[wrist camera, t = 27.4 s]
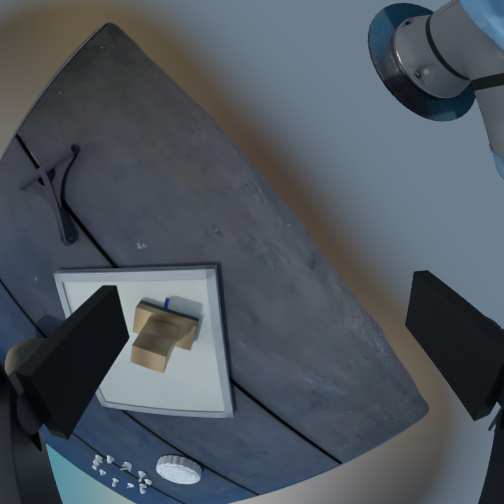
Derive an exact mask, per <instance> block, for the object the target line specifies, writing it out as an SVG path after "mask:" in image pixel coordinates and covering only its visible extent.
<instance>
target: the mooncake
mask: <svg viewBox="0 0 504 504" xmlns="http://www.w3.org/2000/svg"><path fill="white" fill-rule="evenodd" d="M156 468H157V469H156V471H157V472H158V474H160V475H161V476H162V477H164V478H166V479H167V480H170V481H172V482H176V483H178V484H193V483H197V482H198V481H200V478H201V472H202V469H201V467H200V466H199V465H197V463H196V462H193V461H192V460H190V459H187V458H185V457H180V456H173V455H169V456H163V457H160V459H159V460H158V462H157V466H156Z"/></svg>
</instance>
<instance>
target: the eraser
mask: <svg viewBox="0 0 504 504" xmlns="http://www.w3.org/2000/svg"><path fill="white" fill-rule="evenodd" d="M198 322H199V318H195V317H192V316H189V315H186V314H182V313H179V312H176V311H173V310H170V309H166V308H163V307H160V306H157V305H154V304H151V303H148V302H145V301H142V300H141V301H140V302H139V303H138V305H137V306H136V308H135V316H134V324H133V332H134V333H137V334H138V336H137V338H136V339H135V341H134V343H133V344H132V348H131V359H130V362H132V363H134V364H137V365H140V366H143V367H146V368H149V369H151V370H154V371H157V372H160V373H164V371H165V369H166V366H167V364H168V361H169V359H170V357H171V354H172V352H173V349H174V347H175V346H176V347H179V348H182V349H186V350H189V351H191V348H192V345H193V341H194V337H195V333H196V330H197V326H198Z"/></svg>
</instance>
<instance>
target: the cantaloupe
mask: <svg viewBox="0 0 504 504" xmlns="http://www.w3.org/2000/svg"><path fill="white" fill-rule="evenodd" d="M43 340H45V339H42V338H36V339H27V340H24V341H21V342H19V343H17V344H15V345H14V346H13V347H12V348H11V349H10V350H9V352H8V354H7V356H6V360H5V371H6V373H7V375H8V376H9V374H10V373H11V372H12V371H13V370H14V369H15V368H16V367H17V366H18V365H19V364H20V363H21V362H22V361H23V359H24V358H25V357H28V354H29V353H30V352H31V351H33V349H34V348H35V347H36V346H37V345H38V344H39V343H40V342H41V341H43Z"/></svg>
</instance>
